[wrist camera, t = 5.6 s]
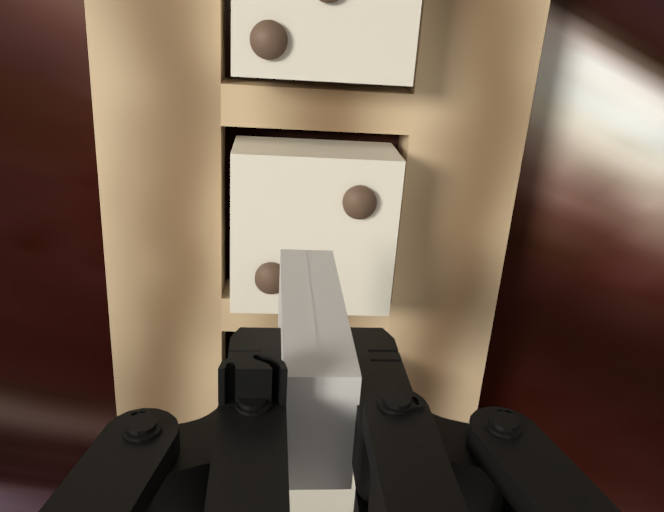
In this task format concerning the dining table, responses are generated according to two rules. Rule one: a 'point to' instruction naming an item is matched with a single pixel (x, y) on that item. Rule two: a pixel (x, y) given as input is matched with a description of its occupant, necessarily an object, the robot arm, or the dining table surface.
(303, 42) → the three pip tile
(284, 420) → the robot arm
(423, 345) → the button board
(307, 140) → the two pip tile
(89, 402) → the dining table surface
